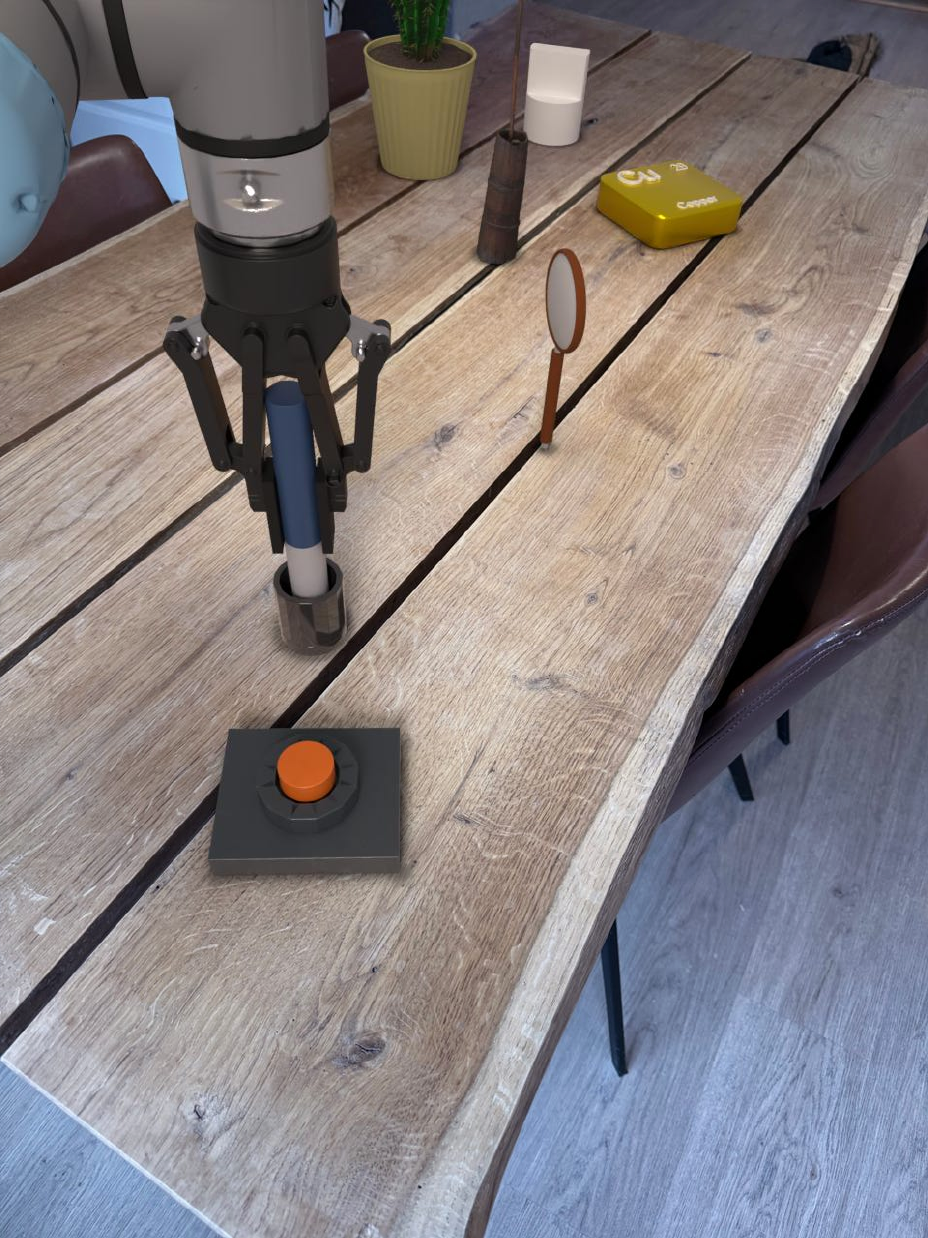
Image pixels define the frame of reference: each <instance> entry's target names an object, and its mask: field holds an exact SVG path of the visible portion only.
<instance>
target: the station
mask: <svg viewBox="0 0 928 1238" xmlns="http://www.w3.org/2000/svg"><path fill="white" fill-rule="evenodd" d="M401 731H402V730H401V727H315V728H314V727H313V728H312V727H309V728H308V727H306V728H305V727H303V728H301V727H300V728H299V727H298V728H297V727H296V728H291V727H290V728H229V729H228V732H227V738H226V745H225V751H224V757H223V764H222V769H221V775H220V781H219V788H218V793H217V794H218V795H217V800H216V807H215V813H214V817H213V825H212V831H211V832H212V833H211V838H210V843H209V849H208V856H207V862H208V864H209V867H210V870H211V873H212V875H213V876H217V877H218V876H267V875H268V876H271V875H273V876H274V875H276V876H278V875H279V876H280V875H332V874H333V875H334V874H335V875H338V874H339V875H341V874H342V875H343V874H389V873H390V874H395V873H396V874H398V873H400V871H401V867H400V865H401V864H400V863H401V861H400V860H401V859H400V857H401V855H400V854H401V853H400V852H401V764H402V763H401V761H402V759H401V755H402V754H401V753H402V752H401V751H402V750H401V749H402V740H401V739H402V738H401V736H402V734H401ZM301 741H315V742H319V743H321V744H323V745H324V746H326V747H327V748H328V749H329V750H330V751H331V753H332V755H333V758H334V765H335V774H336V778H335V783H334V785H333V787H332V789H331V790H330V791H329V792H328V793H327V794H326V795H325V796H323V797H322V798H320V799H318V800H315V801H310V802H301V801H297V800H294V799H292V798H290V797H289V796H287V795H286V794H285V793H284V791H283V790H282V787H281V784H280V779H279V774H278V768H277V766H278V760H279V758H280V756H281V754H282V753H283V752H284V751H285V750H286V749H287V748H288V747H289V746H291V745H293V744H295V743H297V742H301Z"/></svg>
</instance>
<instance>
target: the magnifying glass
mask: <svg viewBox="0 0 928 1238" xmlns="http://www.w3.org/2000/svg"><path fill="white" fill-rule="evenodd" d="M547 267H548V268H547V272H546V278H545V279H546V280H545V295H544V296H545V297H544V298H545V315H546V322H547V328H548V331H549V335H550V339H551V341H552V343H553V345H554V347H553V348H552V349H551V351H550V352H551V353H550V357H549V358H550V359H549V366H548V375H547V382H546V390H545V396H544V397H545V398H544V405H543V406H544V407H543V411H542V412H543V413H542V419H541V420H542V421H541V427H540V435H539V442H540V443H541V445H540V447H541V448H542V449H543V450H547V449H549V447H550V444H552V442H553V436H554V430H555V429H554V428H555V421H556V415H557V408H558V402H559V401H558V400H559V394H560V387H561V381H562V380H561V379H562V373H563V366H564V360H565V355H568V354H572V353H574V352H576V351H577V350H578V348H579V346H580V344H581V342H582V339H583V337H584V332H585V326H586V320H587V319H586V318H587V317H586V316H587V292H586V283H585V277H584V273H583V269H582V266H581V262H580V261H579V257H578V256H577V254H576V253H575V251H574V250H572V249H571V248H566V247H564V248H563V247H562V248H559V249H557V250H556V251H555V252H553V254H552V256H551V258H550V261H549V263H548V266H547Z"/></svg>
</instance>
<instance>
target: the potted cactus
mask: <svg viewBox="0 0 928 1238" xmlns="http://www.w3.org/2000/svg"><path fill="white" fill-rule="evenodd" d="M391 1H393V2H392V3H391V6H390V9H392V8H393V6H394V5H395V8H396V10H394V14H395V15H391V17H395V18H393V20H392V21H391V23H392V22H394V21H395V20H396V19H398V26H397V28H399V29H397V30H395V33H397V32H398V31H399V34H393V35H386V36H382V37H379V38H376V39H373V40H371V41H369V42H368V43H367V44H365V45H364V48H363V55H364V63H365V69H366V74H367V81H368V87H369V94H370V100H371V106H372V113H373V119H374V126H375V131H376V137H377V138H376V139H377V145H378V152H379V157H380V163H381V166H382V168H383V170H385V171H386V172H387V173H389V174H391V175H393V176H396V177H398V178H401V179H406V180H415V181H429V180H436V179H441V178H445V177H448V176H450V175H451V174H453V173H454V172H455V171H456V170H457V167H458V162H459V155H460V151H461V145H462V139H463V134H464V133H463V132H464V127H465V122H466V116H467V111H468V110H467V109H468V104H469V99H470V92H471V86H472V80H473V76H474V69H475V65H476V63H475V62H476V59H477V51H476V49H475V48H474V47H472V45H470V44H468V43H466V42H463V41H461V40H458V39H455V38H451V37H447V36H445V35H446V34H447V35H448V33H449V34H450V31H449V30H448V29H446V28H447V27H446V26H447V23H448V22H450V21H451V22H452V20H451V19H450V17H448V9H449V12H453V13H455V11H454V10H452V9H450V6H449V5H450V4H451V3H453V1H452V0H389V1H388V3H390V2H391ZM381 2H383V0H381Z"/></svg>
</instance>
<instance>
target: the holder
mask: <svg viewBox="0 0 928 1238" xmlns="http://www.w3.org/2000/svg"><path fill="white" fill-rule="evenodd" d="M326 566H327V576H328V586H329V592H328V593H326V594H325V595H323V596H320V597H317V598H313V599H299V598H295V597H293V596H292V590H291V583H290V576H289V569H288V562H287V560H286V561H284V562H283V563H281V564H280V565H279V566H278V567H277V569H276V570H275V572H274V573H273V579H272V587H273V593H274V599H275V605H276V606H275V607H276V612H277V613H276V614H277V619H278V624H279V629H280V634H281V638H282V641H283V643H284V645H286V647H287V648H289V649H290V650H292V651H293V652H295V653H297V654H300V655H303V656H319V655H320V656H321V655H324V654H328V653H330V652H332V651H334V650H335V649H337V648H338V647H339V646H341V644H342V643H343V642H344V640H345V639H346V636H347V632H348V624H347V618H348V617H347V607H346V605H347V604H346V591H345V581H344V573H343V571H342V569H341V567H340V565H339V564H338V563H337V562H335V561H334V560H332V559H331V558H330V557H327V556H326Z"/></svg>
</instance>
